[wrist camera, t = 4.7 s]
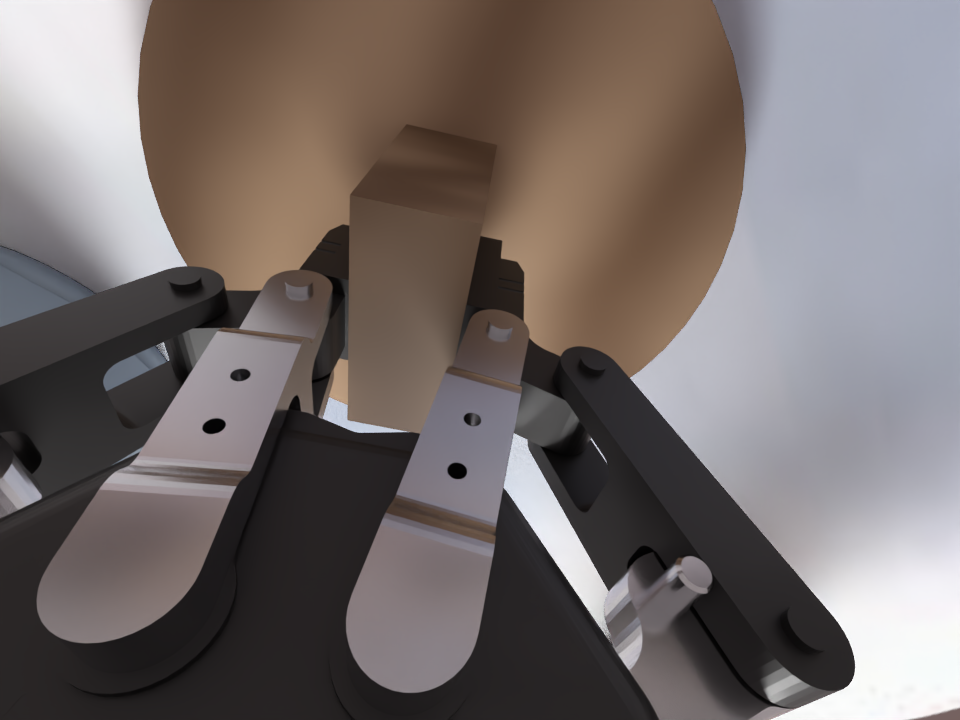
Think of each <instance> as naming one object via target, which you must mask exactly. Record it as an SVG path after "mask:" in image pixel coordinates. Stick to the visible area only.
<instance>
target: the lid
mask: <svg viewBox="0 0 960 720" xmlns="http://www.w3.org/2000/svg"><path fill="white" fill-rule="evenodd" d="M138 105H139V118H140V131H141V140H142V145H143V150H144V155H145V160H146V165H147V170H148V175H149V179H150V182H151V185H152V188H153V191H154V194H155V197H156V200H157V203H158V206H159V209H160V212H161V215H162V217H163V219H164V221H165V223H166V226H167V228H168V230H169V232H170V234H171V237H172V239H173V241H174V243H175V245H176V247H177V249H178V251H179V253H180V254H181V256H182V258H183V259H184V261H185V263H186V264H187V266H195V267H203V268H208V269H211V270H213V271H215V272H217V273H219V274H220V275H221V276H222V277H223V279H224V282H225V288H226V290H242V291H256V290H262V289H263V287H264V285H265V283H266V282H267V280H268V279H269V278H270V277H272V276H273V275H275V274H278V273H280V272H284V271H289V270H299V269H300V267H301V266H302V265H303V263H304V262H305V261H306V260H307V258H308V257H309V256H310V254H311V253H312V252H313V251H314V250H315V249H316V247H317V245H318V244H319V243H320V242H321V241H322V239H323V238H324V236H325V235H326V234H327V232H328V231H329V230H331V229H334V228H336V227H338V226H340V225H342V224H344V225H349V324H348V360H344V359H339V360H338V362H337V364H336V366H335V368H334V381H333V384H332V388H331V391H330V395H329V397H331V398H333V399H335V400H337V401H340V402H342V403H344V404H347V405H348V420H350V421H355V422H360V423H366V424H371V425H376V426H381V427H387V428H392V429H397V430H403V431H408V432H414V433H419V434H421V431H422V429H423V426H424V424H425V421H426V419H427V416H428V414H429V411H430V409H431V406H432V404H433V401H434V399H435V396H436V394H437V391H438V389H439V386H440V384H441V381H442V379H443V376H444V374H445V371H446V369H447V367H448V366H452V365H453V362H454V360H455V357H456V352H457V347H458V342H459V337H460V333H461V328H462V323H463V318H464V313H465V308H466V304H467V299H468V294H469V289H470V284H471V280H472V275H473V270H474V265H475V260H476V255H477V251H478V246H479V241H480V236H484V237H488V238H493V239H498V240H502V251H501V258H502V259H507V260H512V261H516V262H518V264H519V265H520V267H521V268H522V270H523V271H524V323H525V324H526V325H527V327H528V329H529V332H530V335H529V338H530V339H531V340H532V341H533V342H534V343H535V344H537V345H538V346H540V347H541V348H543V349H545V350H547V351H549V352H552V353H554V354H556V355H559V356H561V355H562V353H563V352H564V351H565V350H566V349H568V348H571V347H575V346H584V347H590V348H593V349H596V350H599V351H601V352H603V353H605V354H606V355H608V356H610V357H611V358H612V359H613V360H614V361H615V362H616V363H617V364H618V365H619V366H620V367H621V369H622V370H623V371H624V372H625V373H626V374H627V376H628V377H629V378H630V377H632V376H633V375H634V374H636V373H637V372H639V371H640V370H641V369H643V368H644V367H645V366H646V365H647V364H648V363H649V362H650V361H651V360H653V359H654V358H655V357H656V356H657V355H658V354H659V353H660V352H661V351H663V350H664V349H665V348H666V346H667V345H668V344H669V343H670V342H671V341H672V340H673V338H674V337H675V336H676V335H677V334H678V333H679V332H680V331H681V329H682V328H683V327H684V326H685V325H686V323H687V322H688V321H689V319H690V318H691V316H692V315H693V313H694V312H695V310H696V309H697V307H698V306H699V304H700V303H701V302H702V300H703V299H704V297H705V295H706V293H707V291H708V290H709V288H710V286H711V284H712V282H713V280H714V278H715V276H716V274H717V272H718V270H719V268H720V266H721V264H722V261H723V258H724V256H725V253H726V250H727V247H728V245H729V242H730V239H731V237H732V234H733V231H734V227H735V222H736V218H737V213H738V209H739V204H740V200H741V195H742V190H743V178H744V165H745V152H746V143H745V127H744V111H743V100H742V95H741V91H740V86H739V81H738V76H737V72H736V67H735V62H734V57H733V53H732V51H731V48H730V45H729V43H728V40H727V37H726V35H725V32H724V29H723V27H722V24H721V21H720V19H719V16H718V13H717V11H716V8H715V5H714V4H713V2H712V0H153V1H152V3H151V6H150V10H149V15H148V19H147V24H146V29H145V34H144V38H143V43H142V48H141V53H140V69H139V85H138Z"/></svg>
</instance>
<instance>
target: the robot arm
mask: <svg viewBox="0 0 960 720" xmlns="http://www.w3.org/2000/svg"><path fill="white" fill-rule="evenodd" d="M501 251H502V240H498V239H493V238H488V237H484V236H480V241H479V246H478V251H477V255H476V260H475V265H474V270H473V275H472V280H471V284H470V289H469V294H468V299H467V304H466V308H465V313H464V318H463V323H462V328H461V333H460V337H459V342H458V347H457V352H456V357H455V360H454V362H453V365H452V366H448V367H447V369H446V371H445V374H444V376H443V379H442V381H441V384H440V386H439V389H438V391H437V394H436V396H435V399H434V401H433V404H432V406H431V409H430V411H429V414H428V416H427V419H426V421H425V424H424V426H423V429H422V431H421V434H419V433H414V432H395V433H357V432H353V431H350V430H348V429H345V428H343V427H341V426H338V425H336V424H334V423H331V422H329V421H326V420H324V419H323V415H324V412H325V408H326V405H327V402H328V398H329V395H330V391H331V388H332V384H333V381H334V368H335V366H336V364H337V362H338V360H339V359H344V360H348V324H349V225H344V224H342V225H340V226H338V227H336V228H334V229H331V230H329V231H328V232H327V234H326V235H325V236H324V238H323V239H322V241H321V242H320V243H319V244H318V245H317V247H316V249H315V250H314V251H313V252H312V253H311V254H310V256H309V257H308V258H307V260H306V261H305V262H304V263H303V265H302V266H301V267H300V269H299V270H289V271H284V272H280V273H278V274H275V275H273V276H272V277H270V278H269V279H268V280H267V282H266V283H265V285H264V287H263V289H262V290H256V291H242V290H226V288H225V282H224V279H223V277H222V276H221V275H220V274H219V273H217V272H215V271H213V270H211V269H208V268H203V267H195V266H185V267H176V268H171V269H168V270H164V271H161V272H158V273H156V274H153V275H150V276H147V277H144V278H141V279H138V280H135V281H132V282H129V283H127V284H124V285H121V286H118V287H115V288H112V289H109V290H106V291H103V292H100V293H98V294H95V295H92V296H89V297H86V298H83V299H80V300H77V301H74V302H71V303H69V304H66V305H63V306H60V307H57V308H54V309H51V310H48V311H45V312H42V313H39V314H37V315H34V316H31V317H28V318H25V319H22V320H19V321H16V322H13V323H10V324H8V325H5V326H2V327H0V720H770V719H773V718H775V717H778V716H780V715H782V714H785V713H787V712H789V711H792V710H794V709H797V708H799V707H801V706H804V705H806V704H808V703H811V702H813V701H816V700H818V699H820V698H823V697H825V696H827V695H830V694H832V693H835V692H837V691H839V690H842V689H844V688H845V687H847V686H848V685H849V684H850V682H851V681H852V679H853V676H854V672H855V661H854V656H853V652H852V648H851V646H850V643H849V641H848V639H847V637H846V635H845V633H844V631H843V630H842V628H841V627H840V625H839V624H838V622H837V621H836V620H835V618H834V617H833V616H832V615H831V613H830V612H829V611H828V610H827V609H826V608H825V606H824V605H823V604H822V603H821V602H820V601H819V599H818V598H817V597H816V596H815V595H814V594H813V592H812V591H811V590H810V589H809V588H808V587H807V585H806V584H805V583H804V582H803V581H802V580H801V578H800V577H799V576H798V575H797V574H796V572H795V571H794V570H793V569H792V568H791V567H790V565H789V564H788V563H787V562H786V561H785V560H784V558H783V557H782V556H781V555H780V554H779V553H778V551H777V550H776V549H775V548H774V547H773V546H772V544H771V543H770V542H769V541H768V540H767V539H766V537H765V536H764V535H763V534H762V533H761V531H760V530H759V529H758V528H757V527H756V526H755V524H754V523H753V522H752V521H751V520H750V519H749V517H748V516H747V515H746V514H745V513H744V512H743V510H742V509H741V508H740V507H739V506H738V505H737V503H736V502H735V501H734V500H733V499H732V498H731V496H730V495H729V494H728V493H727V492H726V490H725V489H724V488H723V487H722V486H721V485H720V483H719V482H718V481H717V480H716V479H715V478H714V476H713V475H712V474H711V473H710V472H709V471H708V469H707V468H706V467H705V466H704V465H703V464H702V462H701V461H700V460H699V459H698V458H697V456H696V455H695V454H694V453H693V452H692V451H691V449H690V448H689V447H688V446H687V445H686V444H685V442H684V441H683V440H682V439H681V438H680V437H679V435H678V434H677V433H676V432H675V431H674V430H673V428H672V427H671V426H670V425H669V424H668V423H667V421H666V420H665V419H664V418H663V417H662V415H661V414H660V413H659V412H658V411H657V410H656V408H655V407H654V406H653V405H652V404H651V403H650V401H649V400H648V399H647V398H646V397H645V396H644V394H643V393H642V392H641V391H640V390H639V389H638V387H637V386H636V385H635V384H634V383H633V382H632V380H631V379H630V378H629V377H628V376H627V374H626V373H625V372H624V371H623V370H622V369H621V367H620V366H619V365H618V364H617V363H616V362H615V361H614V360H613V359H612V358H611V357H610V356H608V355H606V354H605V353H603V352H601V351H599V350H596V349H593V348H590V347H584V346H575V347H571V348H568V349H566V350H565V351H564V352H563V353H562V355H561V356H559V355H556V354H554V353H552V352H549V351H547V350H545V349H543V348H541V347H540V346H538V345H537V344H535V343H534V342H533V341H532V340H531V339H530V338H529V335H530V332H529V329H528V327H527V325H526V324H525V323H524V271H523V270H522V268H521V267H520V265H519V264H518V262H516V261H512V260H507V259H502V258H501ZM162 342H164V344H165V347H166V350H167V353H168V356H169V359H170V360H169V361H167V362H165V363H163V364H161V365H159V366H157V367H155V368H153V369H151V370H149V371H147V372H145V373H143V374H141V375H139V376H137V377H135V378H133V379H130V380H128V381H126V382H124V383H122V384H120V385H118V386H116V387H114V388H112V389H110V390H108V391H106V389H105V387H104V384H103V380H104V376H105V374H106V373H107V371H108V370H109V369H110V368H111V367H112V366H113V365H115V364H116V363H118V362H120V361H122V360H124V359H127V358H129V357H131V356H133V355H135V354H138V353H140V352H142V351H144V350H147V349H149V348H151V347H153V346H155V345H158V344H160V343H162ZM514 433H515V434H517V435H519V436H521V437H523V438H525V439H528V447H529V450H530V452H531V454H532V456H533V458H534V459H535V461H536V463H537V465H538V466H539V468H540V470H541V472H542V474H543V475H544V477H545V479H546V481H547V482H548V484H549V486H550V488H551V490H552V491H553V493H554V495H555V497H556V498H557V500H558V502H559V504H560V506H561V507H562V509H563V511H564V513H565V514H566V516H567V518H568V520H569V522H570V523H571V525H572V527H573V529H574V530H575V532H576V534H577V536H578V538H579V539H580V541H581V543H582V545H583V546H584V548H585V550H586V552H587V554H588V555H589V557H590V559H591V561H592V562H593V564H594V566H595V568H596V570H597V571H598V573H599V575H600V577H601V578H602V580H603V582H604V584H605V586H606V587H607V589H608V591H609V592H608V594H607V597H606V600H605V604H604V614H605V620H606V624H607V627H608V630H609V632H610V639H611V642H612V644H613V645H611V643H610V642H609V640H608V639H607V637H606V636H605V635H604V633H603V632H602V630H601V629H600V627H599V626H598V624H597V623H596V621H595V620H594V618H593V617H592V615H591V614H590V613H589V611H588V610H587V608H586V607H585V605H584V604H583V602H582V601H581V599H580V598H579V596H578V595H577V594H576V592H575V591H574V589H573V588H572V586H571V585H570V583H569V582H568V580H567V579H566V577H565V576H564V574H563V573H562V572H561V570H560V569H559V567H558V566H557V564H556V563H555V561H554V560H553V558H552V557H551V555H550V554H549V553H548V551H547V550H546V548H545V547H544V545H543V544H542V542H541V541H540V539H539V538H538V536H537V535H536V533H535V532H534V531H533V529H532V528H531V526H530V525H529V523H528V522H527V520H526V519H525V517H524V516H523V514H522V513H521V512H520V510H519V509H518V507H517V506H516V504H515V503H514V501H513V500H512V498H511V497H510V496H509V494H508V493H507V491H506V490H505V489H504V488H503V487H504V481H505V476H506V471H507V466H508V460H509V455H510V450H511V445H512V440H513V434H514ZM591 438H592V439H593V441H594V442H595V444H596V445H597V447H598V448H599V449H600V451H601V452H602V454H603V455H604V457H605V459H606V461H607V463H606V462H605V460H604V459H603V457H602V456H601V454H600V453H599V451H598V450H597V448H596V447H595V445H594V444H593V443H592V441H591V440H590V439H591ZM143 446H144V447H143ZM141 447H143V448H142V450H141V452H139V453H137V454H135V455H132V456H130V457H128V458H126V459H124V460H122V461H120V460H121V459H123V458H125V457H126V456H128V455H130V454H131V453H133V452H135V451H136V450H138V449H140V448H141ZM118 461H120V462H118ZM116 462H118V463H116ZM115 463H116V464H115ZM113 464H114V465H113Z"/></svg>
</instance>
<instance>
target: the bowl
mask: <svg viewBox="0 0 960 720" xmlns="http://www.w3.org/2000/svg"><path fill="white" fill-rule="evenodd" d="M92 295H95V293H93V292H92V291H90V290H89V289H87V288H86V287H84V286H82V285H81V284H79V283H77V282H76V281H74V280H72V279H71V278H69V277H67V276H66V275H64V274H62V273H60V272H58V271H56V270H55V269H53V268H51V267H49V266H47V265H45V264H43V263H41V262H39V261H37V260H34V259H32V258H30V257H27V256H25V255H22V254H20V253H18V252H15V251H13V250H10V249H7V248H4V247H1V246H0V327H2V326H5V325H8V324H10V323H13V322H16V321H19V320H22V319H25V318H28V317H31V316H34V315H37V314H39V313H42V312H45V311H48V310H51V309H54V308H57V307H60V306H63V305H66V304H69V303H71V302H74V301H77V300H80V299H83V298H86V297H89V296H92ZM165 362H167V361H166V360H165V358H164V357H163V356H162V354H161V353H160V352H159V350H158V349H157V348H156V347H155V346H153V347H151V348H149V349H147V350H144V351H142V352H140V353H138V354H135V355H133V356H131V357H129V358H127V359H124V360H122V361H120V362H118V363H116V364H115V365H113V366H112V367H111V368H110V369H109V370H108V371H107V373H106V374H105V376H104V380H103V384H104V387H105V389H106V391H108V390H110V389H112V388H114V387H116V386H118V385H120V384H122V383H124V382H126V381H128V380H130V379H133V378H135V377H137V376H139V375H141V374H143V373H145V372H147V371H149V370H151V369H153V368H155V367H157V366H159V365H161V364H163V363H165ZM143 447H144V446H143ZM143 447H141V448H140V449H138V450H136V451H135V452H133V453H131V454H130V455H128V456H126V457H125V458H123V459H121V460H120V461H122V460H124V459H126V458H128V457H130V456H132V455H135V454H137V453H139V452H141V450H142V448H143ZM120 461H118V462H120ZM118 462H116V463H118ZM116 463H115V464H116ZM113 465H114V464H113Z"/></svg>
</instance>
